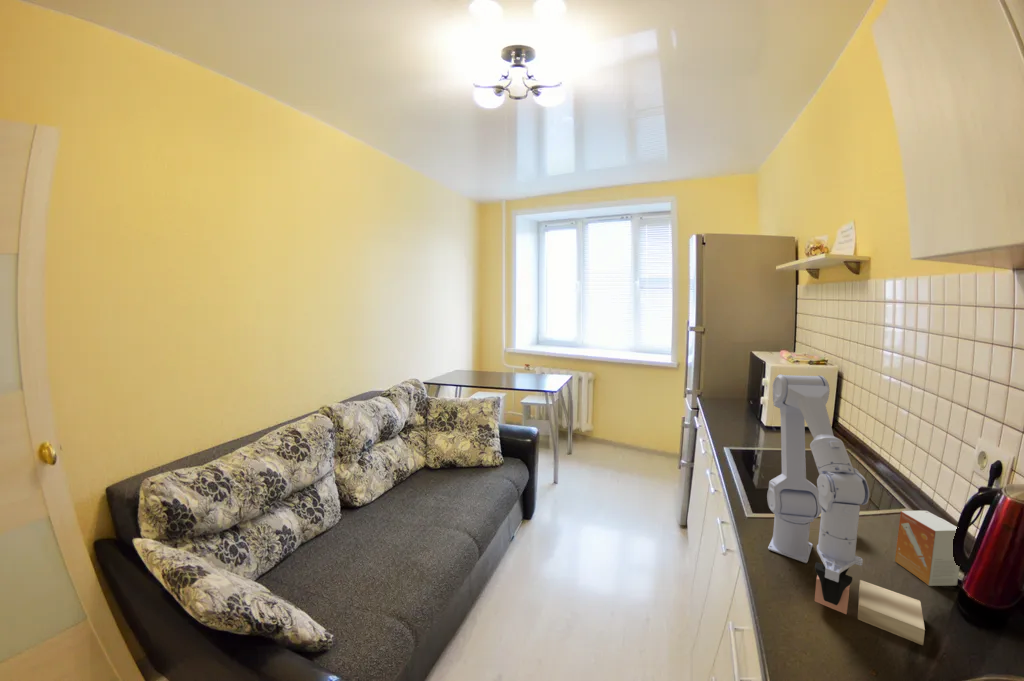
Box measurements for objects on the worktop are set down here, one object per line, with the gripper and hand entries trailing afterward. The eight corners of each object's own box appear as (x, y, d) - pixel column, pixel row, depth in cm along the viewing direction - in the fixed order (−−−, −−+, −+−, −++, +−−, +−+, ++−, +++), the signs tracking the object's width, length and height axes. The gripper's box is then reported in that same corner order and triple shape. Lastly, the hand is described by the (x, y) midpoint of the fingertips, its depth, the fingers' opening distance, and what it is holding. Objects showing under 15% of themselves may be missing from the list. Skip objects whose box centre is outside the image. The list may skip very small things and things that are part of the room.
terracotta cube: (817, 587, 85) (819, 565, 84) (848, 599, 81) (850, 577, 81) (814, 601, 81) (816, 578, 80) (846, 614, 78) (848, 590, 77)
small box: (893, 561, 95) (899, 510, 93) (920, 561, 95) (926, 509, 93) (928, 586, 87) (935, 530, 85) (958, 586, 87) (965, 530, 85)
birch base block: (858, 594, 85) (860, 579, 85) (918, 616, 79) (920, 600, 79) (857, 621, 79) (859, 604, 78) (922, 647, 73) (924, 629, 72)
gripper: (863, 558, 71) (856, 627, 73) (866, 523, 82) (860, 584, 83) (813, 541, 76) (808, 606, 78) (822, 510, 86) (817, 568, 88)
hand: (832, 593), depth 81 cm, fingers closed on terracotta cube, 5 cm apart
